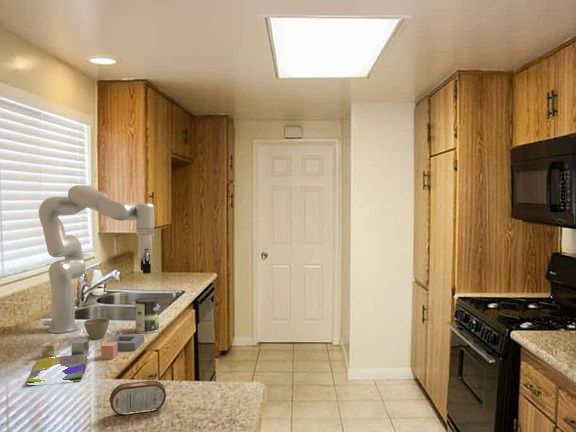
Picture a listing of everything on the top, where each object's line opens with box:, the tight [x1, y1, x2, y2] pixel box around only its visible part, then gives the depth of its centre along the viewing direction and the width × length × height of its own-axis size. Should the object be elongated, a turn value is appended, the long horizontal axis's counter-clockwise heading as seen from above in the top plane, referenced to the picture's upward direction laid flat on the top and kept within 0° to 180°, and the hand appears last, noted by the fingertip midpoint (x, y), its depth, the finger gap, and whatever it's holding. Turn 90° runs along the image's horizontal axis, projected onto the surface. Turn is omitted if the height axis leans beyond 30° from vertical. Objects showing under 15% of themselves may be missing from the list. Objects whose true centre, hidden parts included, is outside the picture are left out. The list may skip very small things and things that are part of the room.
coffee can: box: [134, 296, 160, 334], centre depth 226 cm, size 10×10×14 cm
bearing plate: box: [104, 334, 145, 352], centre depth 202 cm, size 12×12×3 cm
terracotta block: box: [100, 341, 119, 360], centre depth 188 cm, size 4×4×5 cm
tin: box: [109, 379, 167, 415], centre depth 140 cm, size 15×3×8 cm, turn 111°
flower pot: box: [83, 317, 110, 340], centre depth 214 cm, size 10×10×7 cm
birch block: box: [41, 341, 61, 359], centre depth 188 cm, size 4×4×5 cm
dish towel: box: [26, 354, 89, 385], centre depth 172 cm, size 18×24×3 cm
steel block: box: [71, 339, 90, 357], centre depth 188 cm, size 4×4×6 cm
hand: (145, 271), depth 216 cm, fingers open, 9 cm apart
